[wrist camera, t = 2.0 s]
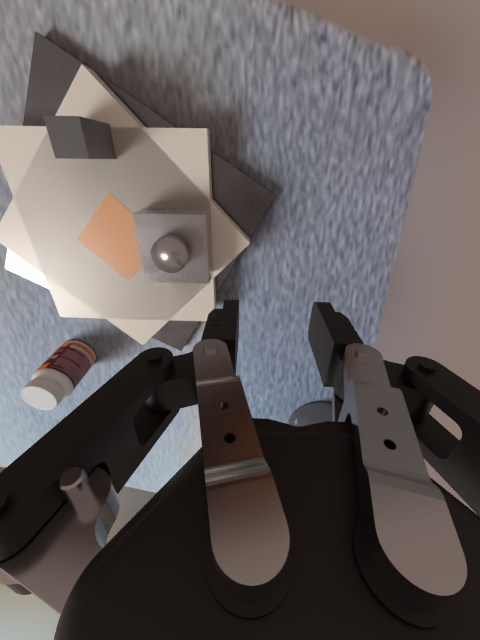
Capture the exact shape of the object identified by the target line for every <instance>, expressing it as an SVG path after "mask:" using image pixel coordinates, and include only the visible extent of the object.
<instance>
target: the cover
mask: <svg viewBox="0 0 480 640" xmlns="http://www.w3.org/2000/svg"><path fill="white" fill-rule="evenodd" d="M133 218H134V223H135V229H136V234H137V239H138V245H139V250H140V256H141V261H142V267H143V272H144V278H145V282H168V283H210V280H211V277H212V273H213V260H212V235H211V211H210V209H166V208H144V209H142V210H140V211H138V212H135V213H133Z"/></svg>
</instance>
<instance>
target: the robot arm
mask: <svg viewBox="0 0 480 640" xmlns="http://www.w3.org/2000/svg"><path fill="white" fill-rule="evenodd" d="M238 334H239V300H224V306H223V309H213V310H212V311H211V312H210V313H209V314H208V317H207V321H206V326H205V328H204V332H203V336H202V339H201V341H200V342H198V343H197V344H196V345H195V346H194V348H193V351H192V352H190V353H187V354H184V355H178V356H173V354H172V352H171V351H170V350H168V349H166V348H160V347H156V348H151V349H147V350H145V351H143V352H141V353H140V354H139V355H138V356H137V357H135V358H134V359H133V360H132V361H131V362H130V363H128V364H127V365H126V366H125V367H124V368H123V369H121V370H120V371H119V372H118V373H117V374H116V375H114V376H113V377H112V378H111V379H110V380H108V381H107V382H106V383H105V384H104V385H103V386H101V387H100V388H99V389H98V390H97V391H96V392H94V393H93V394H92V395H91V396H90V397H89V398H87V399H86V400H85V401H84V402H83V403H82V404H80V405H79V406H78V407H77V408H76V409H75V410H73V411H72V412H71V413H70V414H69V415H68V416H66V417H65V418H64V419H63V420H62V421H61V422H59V423H58V424H57V425H56V426H55V427H54V428H52V429H51V430H50V431H49V432H48V433H46V434H45V435H44V436H43V437H42V438H41V439H39V440H38V441H37V442H36V443H35V444H34V445H32V446H31V447H30V448H29V449H28V450H27V451H25V452H24V453H23V454H22V455H21V456H20V457H18V458H17V459H16V460H15V461H14V462H13V463H11V464H10V465H9V466H8V467H7V468H6V469H4V470H3V471H2V472H1V473H0V584H4V585H7V586H8V587H9V588H11V589H12V590H13V591H14V592H16V593H18V594H21V595H27V594H31V593H32V594H34V595H35V596H36V597H38V598H39V599H40V600H42V601H43V602H44V603H46V604H47V605H48V606H50V607H51V608H52V609H53V610H55V611H56V612H57V613H59V614H60V615H61V616H60V619H59V622H58V625H57V629H56V633H55V636H54V640H480V391H479V390H478V389H476V388H475V387H473V386H472V385H470V384H469V383H468V382H466V381H465V380H463V379H462V378H460V377H459V376H457V375H456V374H454V373H453V372H451V371H450V370H448V369H447V368H446V367H444V366H443V365H441V364H440V363H438V362H436V361H434V360H432V359H429V358H426V357H420V356H413V357H409V358H408V359H407V360H406V362H405V364H404V365H402V364H398V363H393V362H388V361H385V360H383V357H382V355H381V353H380V352H379V351H378V350H376V349H375V348H373V347H371V346H369V345H365V344H364V343H363V342H362V340H361V339H360V337H359V335H358V334H357V332H356V330H354V327H353V326H352V325H351V322H350V321H349V319H348V318H347V317H346V316H344V315H343V314H342V313H340V312H335V311H334V309H333V307H332V305H331V303H328V302H314V304H313V307H312V313H311V318H310V324H309V331H308V337H309V342H310V345H311V348H312V351H313V354H314V357H315V360H316V363H317V367H318V370H319V373H320V376H321V379H322V382H323V385H324V387H333V388H334V392H333V395H332V404H331V403H326V402H316V403H310V404H307V405H304V406H302V407H300V408H299V409H297V410H296V411H295V412H294V413H293V414H292V416H291V418H290V422H289V424H285V423H281V422H278V421H274V420H270V419H257V418H252V416H251V413H250V409H249V406H248V403H247V399H246V396H245V393H244V389H243V386H242V383H241V380H240V377H239V376H236V364H237V350H238ZM196 404H198V409H199V419H200V430H201V440H202V447H201V448H200V449H199V450H198V451H197V453H196V454H195V455H194V456H193V457H192V458H191V459H190V460H189V461H188V462H187V463H186V464H185V465H184V466H183V467H182V468H181V469H180V470H179V471H178V472H177V473H176V474H175V475H174V476H173V477H172V478H171V479H170V480H169V481H168V482H167V483H166V484H165V485H164V486H163V487H162V488H161V489H160V490H159V491H158V492H157V493H156V494H155V495H154V496H153V498H151V500H150V501H149V502H148V503H147V504H146V505H145V506H144V507H143V508H142V509H141V510H140V511H139V512H138V513H137V514H136V515H135V516H134V517H133V518H132V519H131V520H130V521H129V522H128V523H127V524H126V525H125V526H124V527H123V528H122V529H121V530H120V531H119V532H118V533H117V534H116V535H115V536H114V537H113V538H112V539H111V541H109V542H108V543H107V544H106V542H107V537H108V534H109V531H110V529H111V527H112V525H113V523H114V522H115V520H116V518H117V515H118V511H119V505H120V503H119V498H118V495H117V494H118V493H119V492H120V490H121V489H122V487H123V486H124V485H125V483H126V482H127V481H128V479H129V478H130V477H131V475H132V474H133V473H134V471H135V470H136V469H137V467H138V466H139V465H140V463H141V462H142V461H143V459H144V458H145V456H146V455H147V454H148V452H149V451H150V450H151V448H152V447H153V446H154V444H155V443H156V442H157V440H158V439H159V438H160V436H161V435H162V434H163V432H164V431H165V430H166V428H167V427H168V425H169V424H170V423H171V421H172V420H173V419H174V417H175V416H176V415H177V413H178V412H179V410H180V408H184V407H188V406H192V405H196ZM434 404H435V405H436V406H437V407H438V408H439V409H441V410H442V411H443V412H444V413H445V414H447V415H448V416H449V417H450V418H451V419H453V420H454V421H455V422H456V423H457V424H458V425H459V427H460V428H461V431H462V438H461V440H460V441H459V440H458V439H457V438H456V437H454V435H452V434H451V433H450V432H449V431H448V430H446V428H444V427H443V426H442V425H441V424H440V423H439V422H438V421H436V420H435V419H434V418H433V417H432V416H431V415H430V414H429V412H430V410H431V408H432V407H433V405H434ZM424 459H425V460H426V461H427V462H428V463H429V464H430V465H431V466H432V467H433V468H434V469H435V470H436V471H437V472H438V473H439V474H440V476H441V477H442V478H443V479H444V480H445V481H446V482H447V483H448V484H449V485H450V486H451V487H452V488H453V489H454V490H455V491H456V492H457V493H458V494H459V495H460V497H461V498H462V499H463V500H464V501H465V502H466V503H467V504H468V505H469V506H470V507H471V508H472V509H473V510H474V511H475V512H476V514H475V513H474V512H473V511H471V510H470V509H469V508H468V507H467V506H465V505H464V504H463V503H462V502H460V501H459V500H458V499H456V498H455V497H454V496H453V495H451V494H450V493H449V492H447V490H445V489H444V488H443V487H441V486H440V485H439V484H438V483H436V482H435V481H434V480H433V479H431V478H430V477H429V474H428V471H427V468H426V465H425V462H424Z"/></svg>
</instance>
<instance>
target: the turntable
mask: <svg viewBox="0 0 480 640" xmlns="http://www.w3.org/2000/svg"><path fill="white" fill-rule="evenodd" d="M43 118H44V121H45V125H46V126H0V164H1V166H2V169H3V171H4V174H5V176H6V179H7V181H8V184H9V187H10V189H11V192H12V194H13V199H12V201H11V203H10V205H9V207H8V208H7V210H6V212H5V214H4V216H3V218H2V220H1V222H0V243H1V244H2V245H4V246H5V247H7V248H8V249H9V250H11V251H12V252H14V253H15V254H16V255H18V256H19V257H20V258H22V259H23V260H25V261H26V262H27V263H29V264H30V265H32V266H33V267H34V268H36V269H37V270H39V271H40V272H41V273H43V274H44V276H45V279H46V282H47V284H48V287H49V289H50V292H51V294H52V297H53V300H54V302H55V305H56V307H57V310H58V312H59V315H60V317H74V318H105V319H107V320H108V321H109V322H111V323H112V324H114V325H115V326H116V327H118V328H119V329H121V330H122V331H123V332H125V333H126V334H128V335H129V336H130V337H132V338H133V339H135V340H136V341H137V342H139V343H140V344H141V345H144V344H145V343H146V342H147V341H148V340H149V339H150V338H151V337H152V336H153V335H154V334H155V333H156V332H158V331H159V330H160V329H161V328H162V327H163V326H164V325H165V324H166V323H167V322H168V321H169V320H175V321H207V317H208V314H209V313H210V312H211V311H212V310H213V309H216V286H215V276H216V275H217V274H219V273H220V272H221V271H222V270H223V269H224V268H225V267H226V266H227V265H228V264H229V263H230V262H231V261H232V260H233V259H234V258H235V257H236V256H237V255H239V254H240V253H241V252H242V251H243V250H244V249H245V248H246V247H247V246H248V245H249V244H250V238H249V237H248V236H247V235H246V234H245V233H244V232H243V231H242V230H241V229H240V228H239V227H238V226H237V224H236V223H235V222H234V221H233V220H232V219H231V218H230V217H229V216H228V215H227V214H226V213H225V212H224V211H223V209H222V208H221V207H220V206H219V205H218V204H217V203H216V202H215V201H214V200H213V199H212V178H211V150H210V130H209V129H207V128H146V127H145V126H144V125H143V124H142V123H141V121H140V120H139V119H138V118H137V117H136V116H135V115H134V114H133V113H132V112H131V111H130V110H129V109H128V108H127V106H126V105H125V104H124V103H123V102H122V101H121V100H120V99H119V98H118V97H117V96H116V95H115V94H114V93H113V91H112V90H111V89H110V88H109V87H108V86H107V85H106V84H105V83H104V82H103V81H102V80H101V79H100V78H99V76H98V75H97V74H96V73H95V72H94V71H93V70H91V69H90V68H88V67H86V66H84V65H83V64H81V66H80V68H79V70H78V72H77V74H76V76H75V78H74V80H73V82H72V84H71V86H70V88H69V90H68V92H67V93H66V95H65V97H64V99H63V101H62V103H61V105H60V107H59V109H58V111H57V113H56V115H55V116H43ZM144 208H166V209H210V211H211V235H212V260H213V273H212V277H211V280H210V283H168V282H145V278H144V272H143V267H142V261H141V256H140V250H139V245H138V239H137V234H136V229H135V223H134V218H133V213H135V212H138V211H140V210H142V209H144Z"/></svg>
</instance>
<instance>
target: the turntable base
mask: <svg viewBox="0 0 480 640" xmlns="http://www.w3.org/2000/svg"><path fill="white" fill-rule="evenodd" d="M81 64H83V65H84V66H86V67H88V66H87V65H85V64H84V63H82V62H81V61H79V60H78V59H76V58H75V57H74V56H72V55H71V54H69V53H68V52H66V51H65V50H63V49H62V48H60V47H59V46H58V45H56V44H55V43H53V42H52V41H50V40H49V39H47V38H46V37H44V36H43V35H41V34H39V33H38V32H36V31H35V38H34V46H33V54H32V61H31V69H30V77H29V85H28V92H27V100H26V108H25V116H24V123H23V126H46V125H45V121H44V118H43V116H55V115H56V113H57V111H58V109H59V107H60V105H61V103H62V101H63V99H64V97H65V95H66V93H67V92H68V90H69V88H70V86H71V84H72V82H73V80H74V78H75V76H76V74H77V72H78V70H79V68H80V66H81ZM88 68H90V67H88ZM90 69H91V68H90ZM91 70H93V69H91ZM93 71H94V70H93ZM94 72H95V71H94ZM95 73H96V74H97V75H98V76H99V78H100V79H101V80H102V81H103V82H104V83H105V84H106V85H107V86H108V87H109V88H110V89H111V90H112V91H113V93H114V94H115V95H116V96H117V97H118V98H119V99H120V100H121V101H122V102H123V103H124V104H125V105H126V106H127V108H128V109H129V110H130V111H131V112H132V113H133V114H134V115H135V116H136V117H137V118H138V119H139V120H140V121H141V123H142V124H143V125H144V126H145V127H146V128H177V127H176V126H174V125H173V124H171V123H170V122H168V121H167V120H165V119H164V118H163V117H161V116H160V115H158V114H157V113H155V112H154V111H152V110H151V109H149V108H148V107H147V106H145V105H144V104H142V103H141V102H139V101H138V100H136V99H135V98H133V97H132V96H130V95H129V94H128V93H126V92H125V91H123V90H122V89H120V88H119V87H117V86H116V85H114V84H113V83H112V82H110V81H109V80H107V79H106V78H104V77H103V76H101V75H100V74H98V73H97V72H95ZM211 178H212V199H213V200H214V201H215V202H216V203H217V204H218V205H219V206H220V207H221V208H222V209H223V211H224V212H225V213H226V214H227V215H228V216H229V217H230V218H231V219H232V220H233V221H234V222H235V223H236V224H237V226H238V227H239V228H240V229H241V230H242V231H243V232H244V233H245V234H246V235H247V236H248V237H249V238H250V237H251V235H252V234H253V232H254V231H255V229H256V227H257V226H258V224H259V222H260V221H261V219H262V217H263V216H264V214H265V212H266V211H267V209H268V208H269V206H270V204H271V203H272V201H273V199H274V198H275V196H276V195H275V194H273V193H272V192H271V191H269V190H268V189H266V188H265V187H263V186H262V185H260V184H259V183H257V182H256V181H255V180H253V179H252V178H250V177H249V176H247V175H246V174H244V173H243V172H241V171H240V170H238V169H237V168H236V167H234V166H233V165H231V164H230V163H228V162H227V161H225V160H224V159H222V158H221V157H219V156H218V155H217V154H215V153H214V152H212V151H211ZM240 254H241V253H240ZM240 254H239V255H240ZM239 255H237V256H236V257H235V258H234V259H233V260H232V261H231V262H230V263H229V264H228V265H227V266H226V267H225V268H224V269H223V270H222V271H221V272H220V273H219V274H217V275H216V276H215V286H216V293H217V291H218V290H219V288H220V286H221V285H222V283H223V281H224V280H225V278H226V277H227V275H228V273H229V272H230V270H231V268H232V267H233V265H234V263H235V262H236V260H237V258H238V257H239ZM5 269H7V270H9V271H11V272H13V273H16V274H18V275H20V276H22V277H24V278H26V279H28V280H31V281H33V282H35V283H37V284H39V285H41V286H43V287H46V288H48V289H49V287H48V284H47V282H46V279H45V276H44V274H43V273H41V272H40V271H39V270H37V269H36V268H34V267H33V266H32V265H30V264H29V263H27V262H26V261H25V260H23V259H22V258H20V257H19V256H18V255H16V254H15V253H14V252H12V251H11V250H9V249H8V248H7V255H6V263H5ZM198 323H199V321H175V320H169V321H168V322H167V323H166V324H165V325H164V326H163V327H162V328H161V329H160V330H159V331H158V332H156V333H155V334H154V335H153V336H152V338H155V339H157V340H159V341H161V342H163V343H165V344H167V345H170V346H172V347H174V348H176V349H178V350H180V351H182V349H183V347H184V346H185V344H186V342H187V341H188V339H189V337H190V336H191V334H192V332H193V331H194V329H195V327H196V326H197V324H198Z"/></svg>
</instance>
